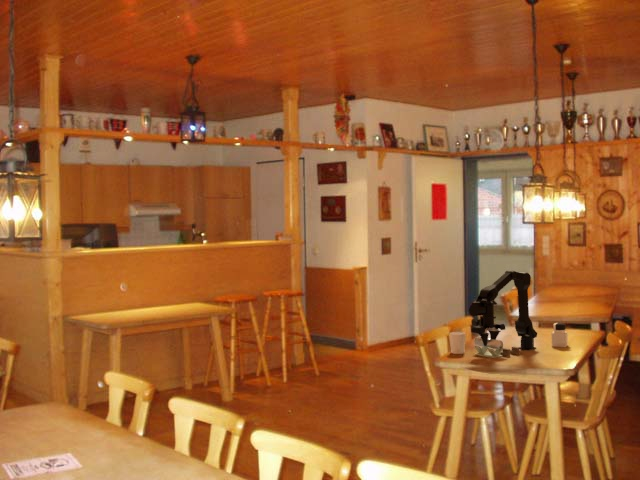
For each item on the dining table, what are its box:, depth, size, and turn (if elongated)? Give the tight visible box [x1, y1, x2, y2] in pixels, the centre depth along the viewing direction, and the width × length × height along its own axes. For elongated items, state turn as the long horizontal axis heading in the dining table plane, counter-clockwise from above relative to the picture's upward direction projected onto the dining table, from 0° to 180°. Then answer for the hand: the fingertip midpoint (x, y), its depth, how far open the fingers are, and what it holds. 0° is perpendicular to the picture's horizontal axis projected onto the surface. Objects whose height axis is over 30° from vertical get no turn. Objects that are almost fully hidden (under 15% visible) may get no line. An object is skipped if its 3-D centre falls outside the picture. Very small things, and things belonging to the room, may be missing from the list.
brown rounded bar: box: [473, 336, 504, 350], centre depth 378 cm, size 15×4×4 cm, turn 34°
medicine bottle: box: [551, 322, 568, 348], centre depth 398 cm, size 7×7×12 cm
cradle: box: [474, 345, 504, 359], centre depth 378 cm, size 8×12×4 cm, turn 34°
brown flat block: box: [500, 346, 520, 357], centre depth 379 cm, size 8×8×4 cm
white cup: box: [449, 331, 466, 355], centre depth 386 cm, size 8×8×10 cm
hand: (488, 345), depth 378 cm, fingers closed on brown rounded bar, 4 cm apart
